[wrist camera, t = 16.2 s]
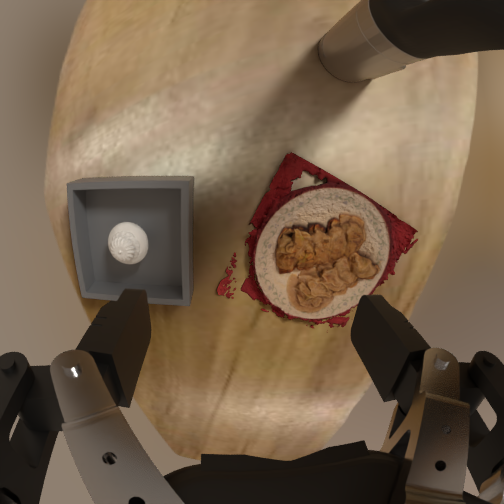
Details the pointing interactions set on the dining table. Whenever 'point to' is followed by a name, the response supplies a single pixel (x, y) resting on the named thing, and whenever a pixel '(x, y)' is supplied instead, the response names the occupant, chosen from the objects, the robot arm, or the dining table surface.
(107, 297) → the serving bin
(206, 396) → the dining table surface
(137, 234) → the white ribbed rounded piece
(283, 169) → the plate with food
